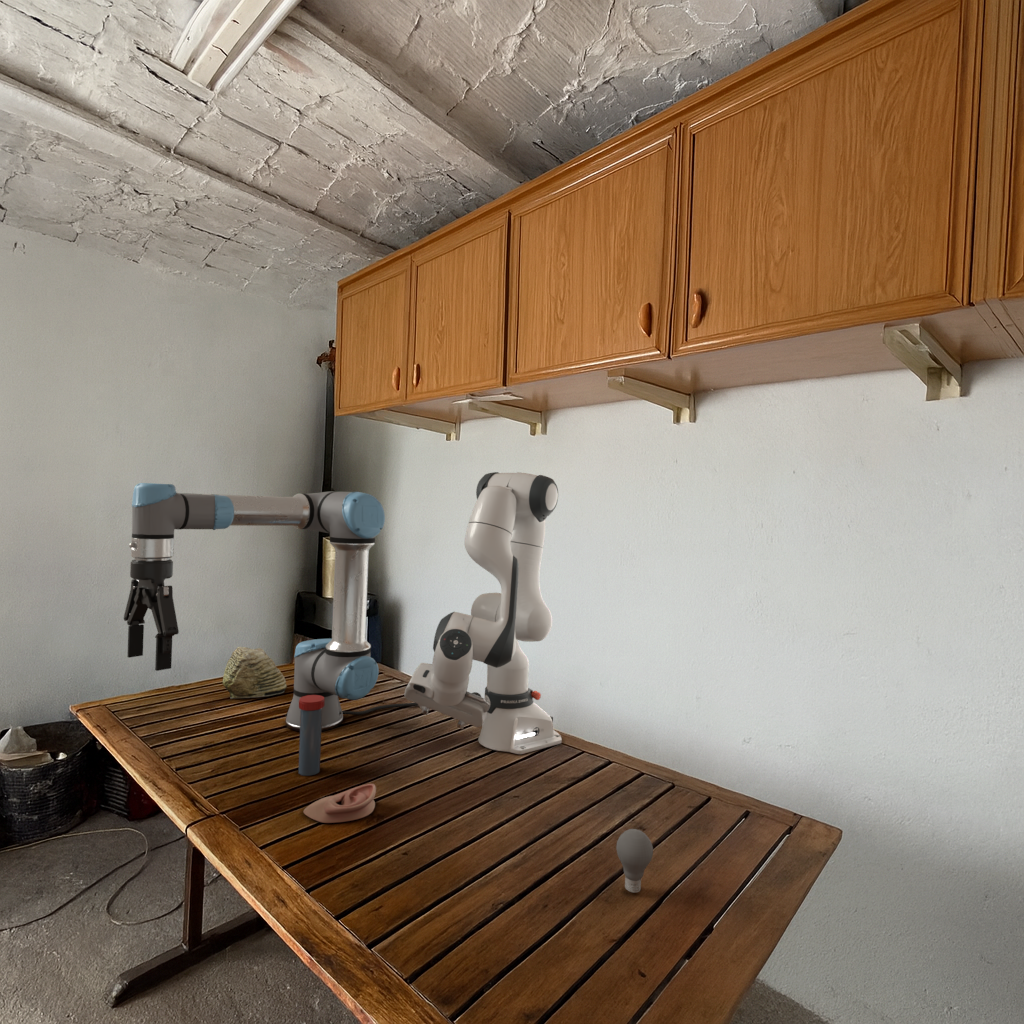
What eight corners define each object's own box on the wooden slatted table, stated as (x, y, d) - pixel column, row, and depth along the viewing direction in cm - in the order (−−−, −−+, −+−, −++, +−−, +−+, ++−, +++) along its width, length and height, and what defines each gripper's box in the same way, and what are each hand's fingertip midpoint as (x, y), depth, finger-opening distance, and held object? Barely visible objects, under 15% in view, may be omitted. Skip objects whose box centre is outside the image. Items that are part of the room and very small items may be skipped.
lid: (297, 703, 147) (298, 695, 147) (322, 701, 149) (323, 693, 149) (299, 711, 142) (300, 703, 142) (325, 709, 144) (326, 701, 144)
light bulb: (610, 879, 108) (613, 822, 108) (644, 879, 109) (647, 822, 109) (619, 902, 102) (622, 840, 102) (655, 901, 103) (658, 840, 103)
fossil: (218, 695, 195) (220, 647, 195) (278, 685, 208) (279, 640, 207) (228, 703, 189) (230, 653, 188) (289, 692, 201) (290, 645, 201)
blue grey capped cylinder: (297, 768, 147) (300, 698, 147) (318, 765, 149) (321, 696, 149) (299, 776, 143) (301, 704, 142) (320, 774, 144) (323, 702, 144)
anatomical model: (295, 798, 124) (324, 774, 135) (295, 818, 124) (324, 792, 135) (358, 808, 121) (383, 782, 132) (358, 828, 121) (382, 801, 133)
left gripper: (108, 554, 134) (104, 654, 134) (159, 565, 118) (155, 678, 119) (146, 552, 140) (143, 648, 140) (199, 563, 124) (195, 671, 124)
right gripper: (495, 691, 147) (487, 724, 156) (414, 660, 150) (411, 694, 159) (485, 713, 142) (477, 745, 151) (403, 680, 146) (400, 714, 154)
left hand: (148, 662), depth 129 cm, fingers open, 13 cm apart
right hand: (443, 719), depth 155 cm, fingers open, 8 cm apart
